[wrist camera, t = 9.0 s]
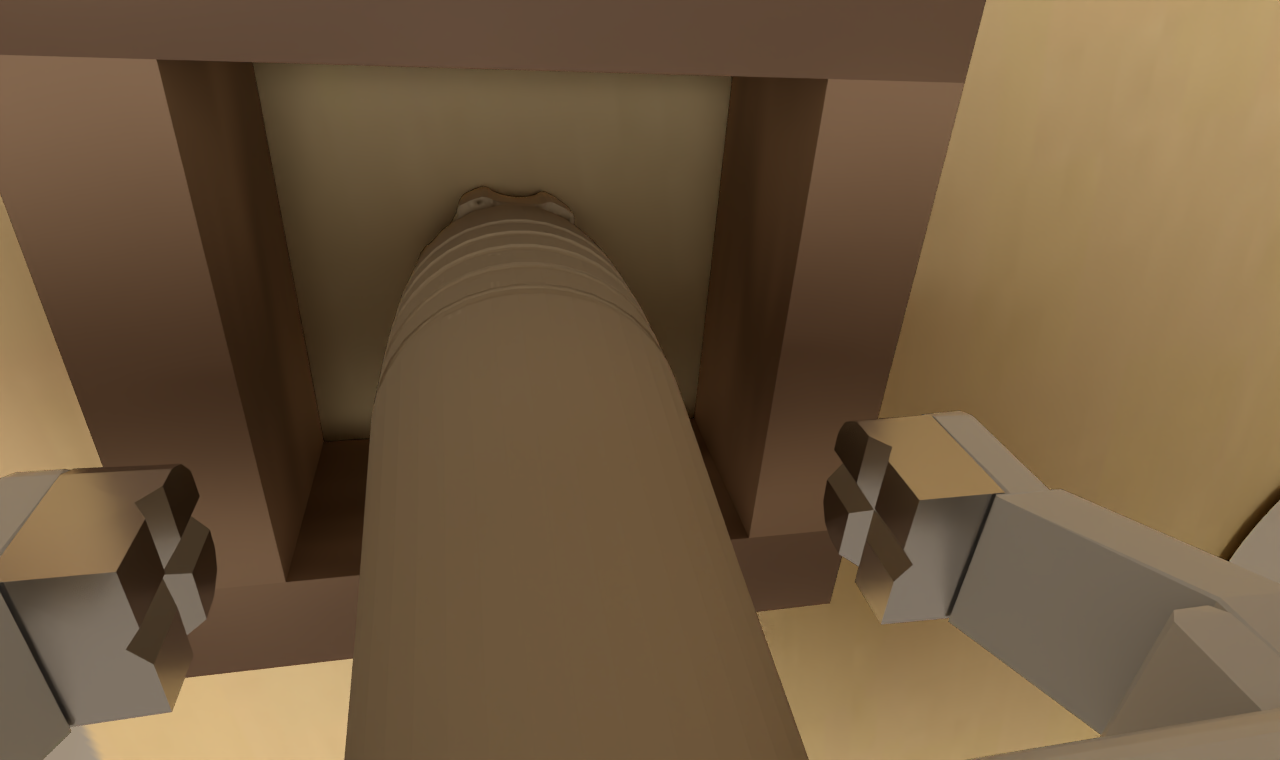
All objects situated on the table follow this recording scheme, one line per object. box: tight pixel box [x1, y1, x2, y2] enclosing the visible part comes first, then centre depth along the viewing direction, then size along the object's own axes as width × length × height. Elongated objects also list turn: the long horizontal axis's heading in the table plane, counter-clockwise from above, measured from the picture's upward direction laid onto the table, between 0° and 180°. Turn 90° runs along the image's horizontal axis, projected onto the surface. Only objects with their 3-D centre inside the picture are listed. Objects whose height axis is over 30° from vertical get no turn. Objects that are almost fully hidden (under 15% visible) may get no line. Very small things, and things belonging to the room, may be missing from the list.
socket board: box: [0, 0, 986, 678], centre depth 13 cm, size 12×12×4 cm
